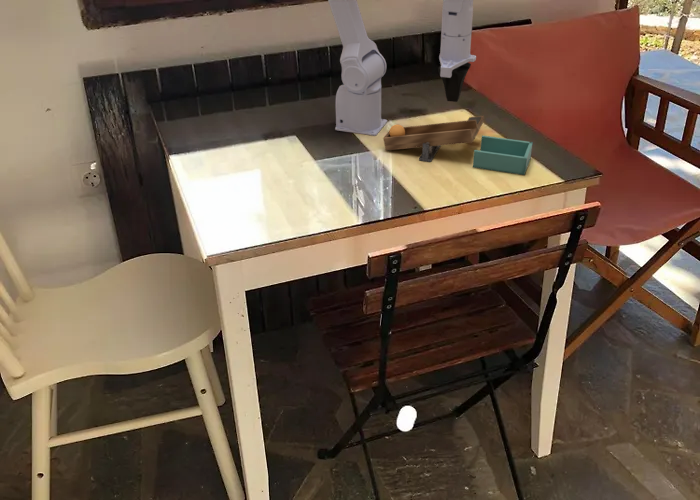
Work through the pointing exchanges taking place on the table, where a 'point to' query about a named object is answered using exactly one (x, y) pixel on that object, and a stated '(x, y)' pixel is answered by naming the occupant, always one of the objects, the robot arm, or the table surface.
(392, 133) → the ball
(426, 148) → the fulcrum
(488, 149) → the teal open-ended tray
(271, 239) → the table surface
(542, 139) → the table surface
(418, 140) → the lever
